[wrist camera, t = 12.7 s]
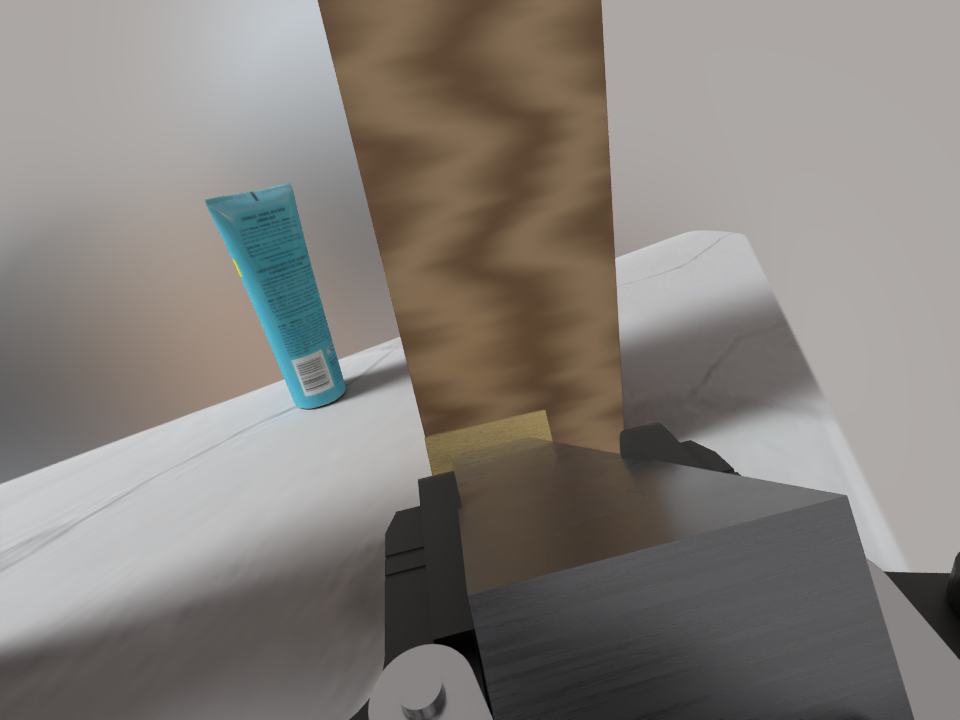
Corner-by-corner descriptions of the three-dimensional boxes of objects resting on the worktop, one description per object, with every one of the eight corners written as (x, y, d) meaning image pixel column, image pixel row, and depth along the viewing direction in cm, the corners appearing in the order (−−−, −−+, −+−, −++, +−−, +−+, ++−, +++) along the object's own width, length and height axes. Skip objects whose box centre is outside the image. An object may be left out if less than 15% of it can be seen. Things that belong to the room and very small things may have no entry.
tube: (332, 376, 52) (271, 184, 45) (365, 382, 50) (306, 179, 42) (272, 412, 47) (191, 201, 39) (306, 421, 44) (226, 196, 37)
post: (442, 506, 31) (257, -246, 18) (426, 402, 44) (311, -81, 30) (625, 461, 32) (586, -281, 19) (558, 372, 45) (505, -107, 31)
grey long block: (441, 1108, 4) (325, 503, 4) (446, 527, 25) (427, 436, 25) (1079, 882, 4) (911, 364, 5) (555, 500, 25) (533, 411, 26)
